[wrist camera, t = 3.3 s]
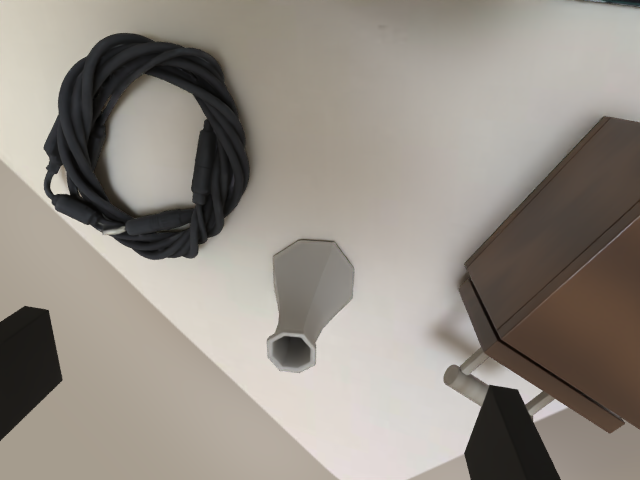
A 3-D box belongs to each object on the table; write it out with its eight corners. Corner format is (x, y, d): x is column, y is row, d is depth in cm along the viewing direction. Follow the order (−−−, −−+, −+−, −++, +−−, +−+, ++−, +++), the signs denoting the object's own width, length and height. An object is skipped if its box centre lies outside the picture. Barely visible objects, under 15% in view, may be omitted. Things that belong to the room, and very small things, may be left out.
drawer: (512, 389, 34) (550, 473, 27) (417, 329, 33) (430, 400, 25) (695, 241, 27) (811, 301, 20) (583, 158, 26) (664, 190, 19)
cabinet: (573, 337, 32) (649, 436, 23) (463, 264, 31) (500, 339, 22) (728, 211, 27) (902, 278, 18) (604, 115, 25) (726, 136, 17)
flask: (342, 228, 31) (330, 292, 22) (365, 303, 33) (362, 389, 24) (260, 248, 32) (216, 316, 23) (287, 318, 35) (258, 404, 26)
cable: (149, -10, 26) (109, -26, 22) (304, 135, 28) (293, 145, 24) (46, 172, 32) (0, 186, 28) (180, 278, 35) (155, 304, 31)
